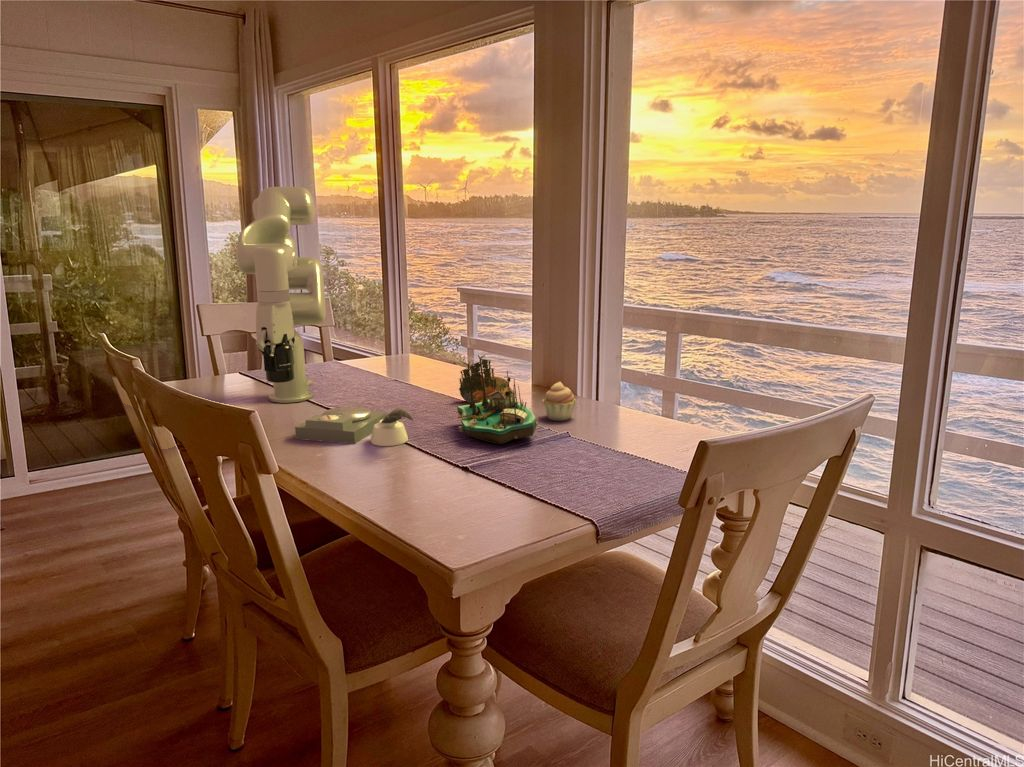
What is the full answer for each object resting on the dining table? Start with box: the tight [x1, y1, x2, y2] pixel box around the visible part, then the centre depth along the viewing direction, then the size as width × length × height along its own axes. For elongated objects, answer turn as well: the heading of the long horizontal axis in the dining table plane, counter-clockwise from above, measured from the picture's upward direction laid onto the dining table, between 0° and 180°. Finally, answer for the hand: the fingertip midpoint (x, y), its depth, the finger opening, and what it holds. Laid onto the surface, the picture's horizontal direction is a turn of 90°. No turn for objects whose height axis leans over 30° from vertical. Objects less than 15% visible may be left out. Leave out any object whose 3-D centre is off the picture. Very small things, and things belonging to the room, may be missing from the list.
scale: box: [294, 411, 388, 445], centre depth 183 cm, size 18×16×6 cm
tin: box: [459, 375, 508, 404], centre depth 208 cm, size 15×3×8 cm, turn 68°
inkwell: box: [369, 407, 414, 447], centre depth 171 cm, size 9×18×10 cm, turn 37°
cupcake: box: [541, 381, 578, 422], centre depth 192 cm, size 9×9×10 cm
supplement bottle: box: [265, 334, 294, 384], centre depth 181 cm, size 7×7×12 cm
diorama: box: [456, 354, 539, 445], centre depth 178 cm, size 19×25×19 cm
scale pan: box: [322, 405, 371, 422], centre depth 185 cm, size 12×12×1 cm
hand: (279, 367), depth 181 cm, fingers closed on supplement bottle, 6 cm apart
